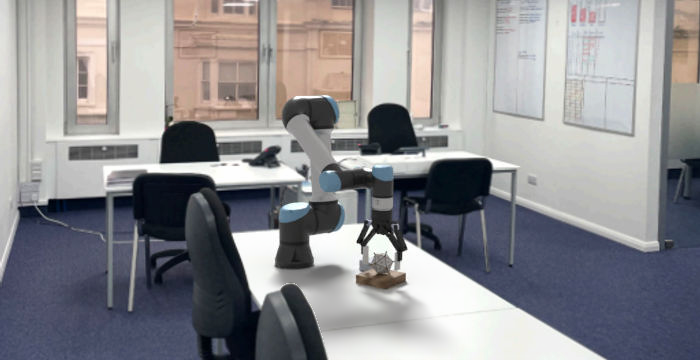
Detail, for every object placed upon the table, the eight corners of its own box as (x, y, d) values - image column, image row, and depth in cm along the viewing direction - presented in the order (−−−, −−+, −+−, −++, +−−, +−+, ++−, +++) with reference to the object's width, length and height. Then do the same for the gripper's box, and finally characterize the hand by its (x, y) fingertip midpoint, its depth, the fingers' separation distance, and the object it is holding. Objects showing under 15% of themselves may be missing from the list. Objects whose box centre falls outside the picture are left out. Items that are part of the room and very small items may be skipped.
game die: (385, 285, 291) (393, 268, 284) (363, 276, 292) (371, 258, 285) (392, 267, 298) (399, 250, 291) (370, 258, 298) (377, 241, 291)
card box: (359, 270, 309) (359, 259, 308) (375, 265, 315) (375, 255, 314) (371, 273, 305) (371, 263, 304) (386, 268, 311) (387, 258, 310)
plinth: (355, 283, 291) (355, 274, 290) (375, 274, 301) (375, 267, 301) (386, 289, 284) (386, 281, 283) (405, 281, 294) (405, 273, 294)
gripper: (347, 205, 292) (346, 263, 296) (406, 214, 278) (405, 274, 281) (359, 202, 298) (358, 258, 302) (417, 211, 284) (416, 270, 288)
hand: (381, 266), depth 292 cm, fingers open, 13 cm apart
